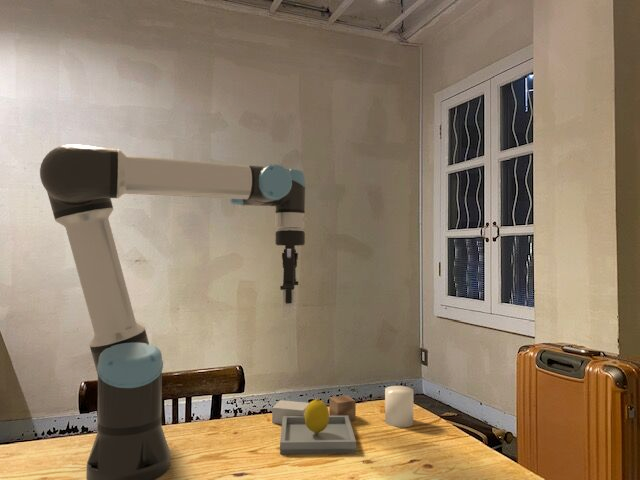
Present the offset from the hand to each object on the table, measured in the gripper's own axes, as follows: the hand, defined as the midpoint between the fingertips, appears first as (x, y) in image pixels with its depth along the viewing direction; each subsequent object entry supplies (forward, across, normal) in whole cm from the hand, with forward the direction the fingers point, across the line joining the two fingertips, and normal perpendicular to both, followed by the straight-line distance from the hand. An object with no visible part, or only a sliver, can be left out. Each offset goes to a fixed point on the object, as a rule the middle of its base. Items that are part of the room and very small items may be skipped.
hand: (289, 313), depth 122 cm
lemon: (+26, -13, -7) cm, 30 cm away
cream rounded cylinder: (+27, -3, -28) cm, 39 cm away
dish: (+27, -13, -7) cm, 31 cm away
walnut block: (+27, 0, -14) cm, 30 cm away
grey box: (+27, -1, 0) cm, 27 cm away
